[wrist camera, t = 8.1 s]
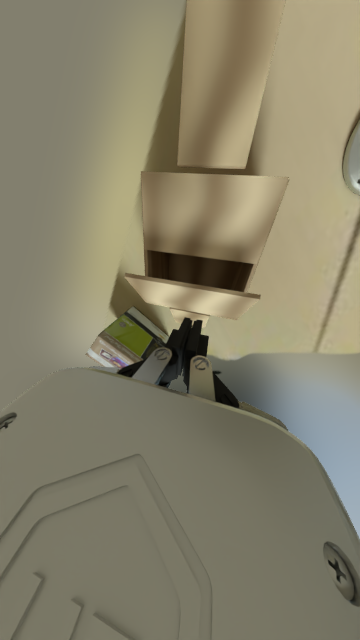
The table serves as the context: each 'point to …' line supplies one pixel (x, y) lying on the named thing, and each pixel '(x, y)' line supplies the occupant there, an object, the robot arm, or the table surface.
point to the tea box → (127, 341)
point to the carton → (202, 268)
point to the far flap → (192, 298)
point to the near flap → (218, 137)
